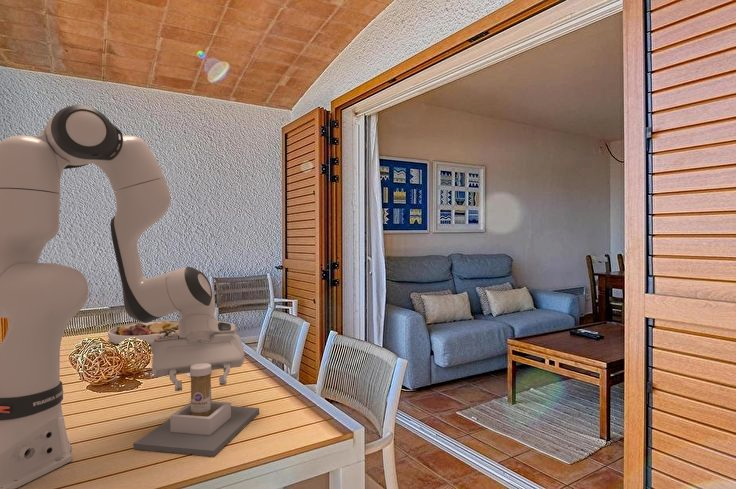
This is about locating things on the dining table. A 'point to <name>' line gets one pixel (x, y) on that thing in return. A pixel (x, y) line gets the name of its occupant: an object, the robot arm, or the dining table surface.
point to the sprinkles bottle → (200, 389)
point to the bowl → (142, 330)
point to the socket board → (198, 430)
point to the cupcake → (167, 334)
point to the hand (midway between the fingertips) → (201, 386)
